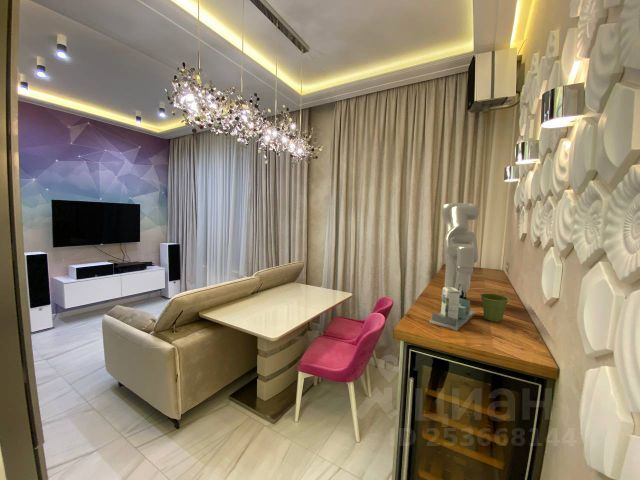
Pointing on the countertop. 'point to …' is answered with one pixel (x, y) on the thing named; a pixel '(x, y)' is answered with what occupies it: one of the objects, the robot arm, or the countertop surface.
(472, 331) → the countertop surface
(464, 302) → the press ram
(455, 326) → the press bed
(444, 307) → the syrup box
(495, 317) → the plant pot
